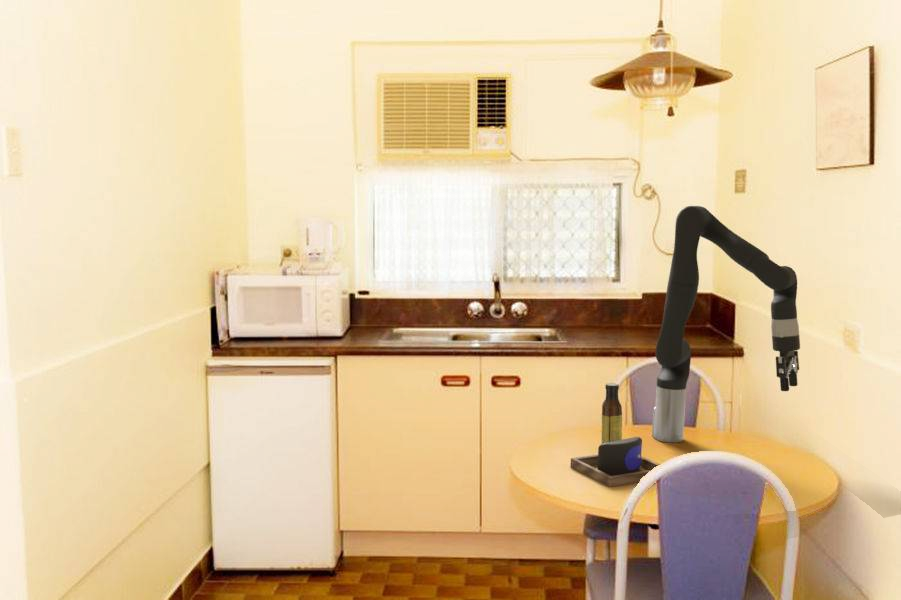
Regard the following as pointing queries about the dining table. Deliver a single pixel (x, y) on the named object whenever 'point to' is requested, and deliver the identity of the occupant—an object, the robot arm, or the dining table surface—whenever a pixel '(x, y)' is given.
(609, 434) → the sauce bottle
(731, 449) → the dining table surface
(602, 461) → the black two-tone rounded block
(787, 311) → the robot arm
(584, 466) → the walnut tray
